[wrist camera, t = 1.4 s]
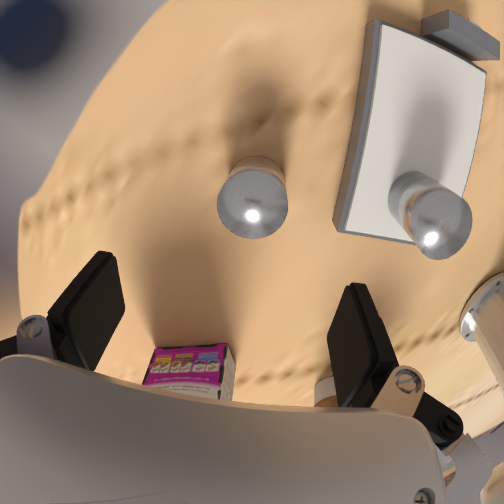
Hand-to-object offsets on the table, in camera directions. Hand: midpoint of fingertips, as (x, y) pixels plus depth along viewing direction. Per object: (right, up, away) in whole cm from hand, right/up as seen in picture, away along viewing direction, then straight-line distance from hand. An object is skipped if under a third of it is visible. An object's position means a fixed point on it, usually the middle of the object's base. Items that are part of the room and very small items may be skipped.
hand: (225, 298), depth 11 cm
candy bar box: (-7, -13, +27) cm, 30 cm away
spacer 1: (+1, +8, +14) cm, 16 cm away
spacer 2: (+15, +6, +10) cm, 19 cm away
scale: (+16, +14, +10) cm, 23 cm away
